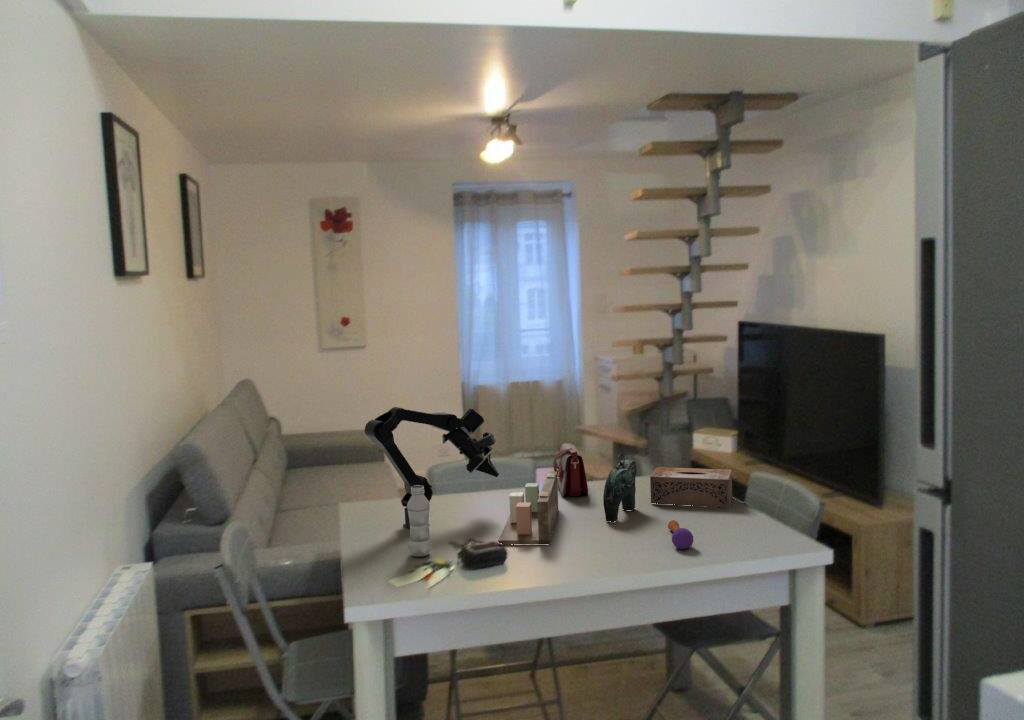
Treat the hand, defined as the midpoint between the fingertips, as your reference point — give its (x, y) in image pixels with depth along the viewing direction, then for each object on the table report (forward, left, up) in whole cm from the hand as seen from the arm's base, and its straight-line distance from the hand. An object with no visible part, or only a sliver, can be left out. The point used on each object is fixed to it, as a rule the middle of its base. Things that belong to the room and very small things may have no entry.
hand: (497, 475), depth 264 cm
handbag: (+40, +9, -14) cm, 43 cm away
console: (0, -16, -13) cm, 21 cm away
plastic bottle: (-40, -16, -14) cm, 46 cm away
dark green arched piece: (+29, -28, -14) cm, 43 cm away
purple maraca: (+22, -58, -14) cm, 64 cm away
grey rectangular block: (-3, -14, -12) cm, 18 cm away
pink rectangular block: (-9, -25, -12) cm, 29 cm away
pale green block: (+8, -8, -12) cm, 16 cm away
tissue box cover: (+58, -33, -14) cm, 68 cm away
